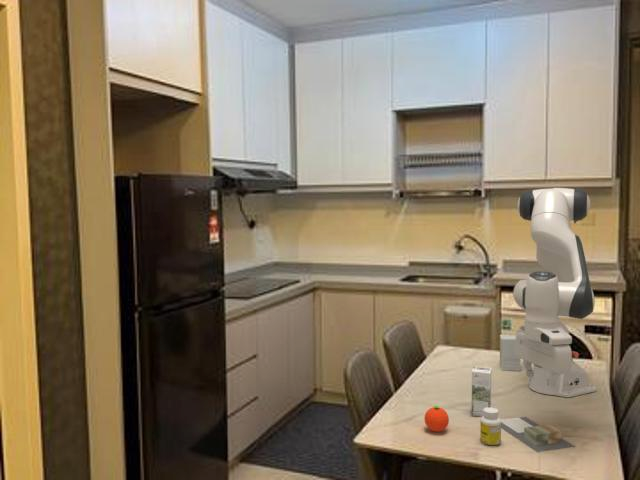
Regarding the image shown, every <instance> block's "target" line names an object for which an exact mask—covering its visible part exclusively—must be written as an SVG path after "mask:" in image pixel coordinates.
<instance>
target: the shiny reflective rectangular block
mask: <svg viewBox="0 0 640 480" xmlns="http://www.w3.org/2000/svg"><path fill="white" fill-rule="evenodd" d="M561 438H562V431H561V430H559V429H558V428H555V426H552V425H551V424H542V425H540V426H534V427H526V428H524V439H526V440H528V441H529V442H531V443H532V444H534V445H535V446H537V445H544V444H551V443H558V442H561Z"/></svg>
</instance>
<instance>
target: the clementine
mask: <svg viewBox="0 0 640 480" xmlns="http://www.w3.org/2000/svg"><path fill="white" fill-rule="evenodd" d="M449 421H450V420H449V415H448V412H447V411H446V410H445V409H443V408H442V407H440V406H438V405H433V407H430V408H429V409H427V411H426V412H425V414H424V423H425V425H426V426H427V429H429V430H430V431H432V432H435V433H436V432H437V433H440V432H443V431H444V430H445V429H446V428H447V427H448V425H449V423H450V422H449Z"/></svg>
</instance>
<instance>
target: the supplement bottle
mask: <svg viewBox="0 0 640 480" xmlns="http://www.w3.org/2000/svg"><path fill="white" fill-rule="evenodd" d="M483 415H484V416H482V417H480V422H479V423H480V432H479V433H480V436H479V437H480V444H482V445H483V446H486V447H491V448H497V447H500V446H501V445H502V428H501V420H502V419H501V418H500V417H499V409H498V408H495V407H491V408H490V407H487V408H484V409H483Z"/></svg>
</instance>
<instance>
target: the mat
mask: <svg viewBox="0 0 640 480" xmlns="http://www.w3.org/2000/svg"><path fill="white" fill-rule="evenodd" d="M500 420H501V430H503V431H504V432H506V433H508V434H509V435H511V436H512V437H513V438H515V439H516V440H518V441H519V442H521V443H523V444H524V445H526V446H527V447H528V448H531V450H533V451H535V452H537V453H541V452H549V451H554V450H555V451H556V450H562V449H568V448H576V445H574V444H572V443H571V442H569V441H567V440H566V439H564V438H562V437H561V442H558V443H551V444H544V445H537V446H535V445H534V444H532V443H531V442H529V441H528V440H526V439H524V428H526V427H534V426H541V425H540V424H539V423H538V422H535V421H533V420H532V419H530V418H529V417H527V416H523V417H522V416H520V417H513V418H506V419H500Z"/></svg>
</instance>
